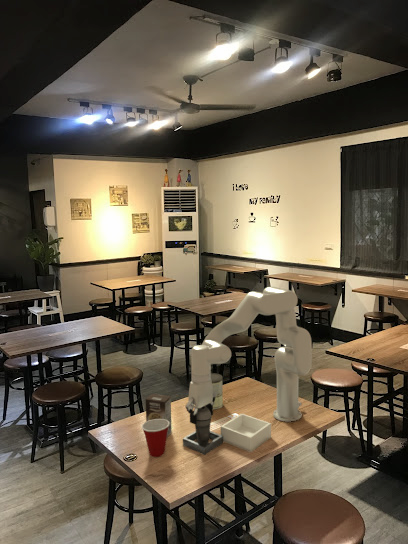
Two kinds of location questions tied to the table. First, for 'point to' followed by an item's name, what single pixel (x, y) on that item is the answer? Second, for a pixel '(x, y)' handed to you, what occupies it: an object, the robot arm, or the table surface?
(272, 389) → the table surface
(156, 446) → the plastic cup
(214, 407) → the coffee can
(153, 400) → the coffee box
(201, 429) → the beverage cup
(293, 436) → the table surface
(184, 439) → the holder
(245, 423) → the bin
